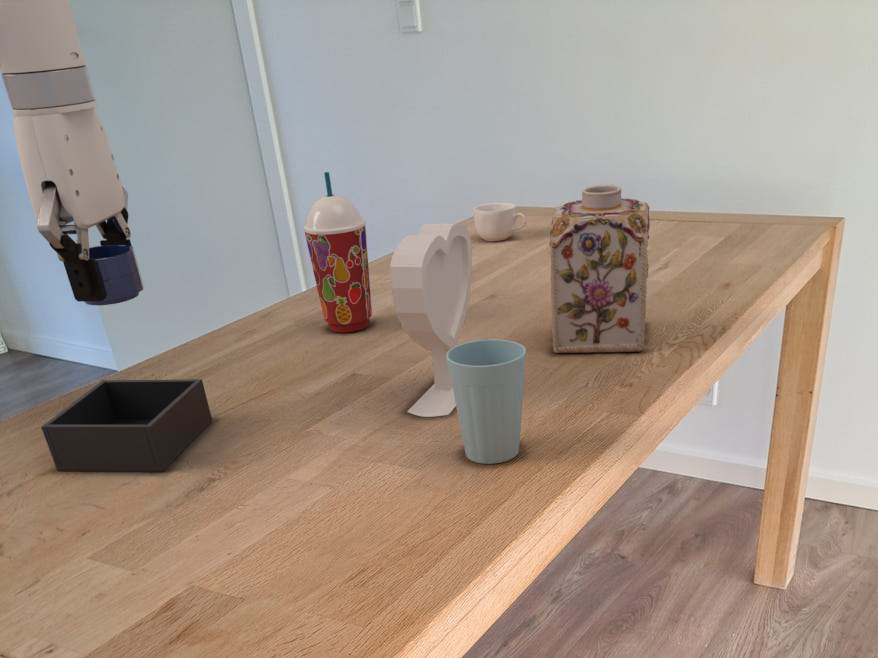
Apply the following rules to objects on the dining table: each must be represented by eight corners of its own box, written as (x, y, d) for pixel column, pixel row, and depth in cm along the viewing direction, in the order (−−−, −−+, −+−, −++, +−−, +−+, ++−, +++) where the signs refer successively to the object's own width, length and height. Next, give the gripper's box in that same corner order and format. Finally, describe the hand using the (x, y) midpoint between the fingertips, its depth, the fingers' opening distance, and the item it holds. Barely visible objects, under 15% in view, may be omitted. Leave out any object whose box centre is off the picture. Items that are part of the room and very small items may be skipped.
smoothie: (387, 318, 133) (368, 166, 122) (363, 337, 127) (341, 178, 115) (336, 316, 136) (313, 167, 124) (310, 334, 130) (282, 179, 118)
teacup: (467, 242, 168) (465, 210, 165) (486, 232, 173) (484, 201, 170) (517, 245, 164) (516, 212, 161) (534, 234, 169) (533, 203, 166)
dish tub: (57, 470, 97) (40, 426, 94) (115, 421, 108) (102, 380, 105) (163, 471, 95) (150, 426, 92) (212, 421, 106) (202, 379, 103)
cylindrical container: (66, 308, 94) (51, 262, 92) (97, 289, 100) (84, 245, 97) (127, 306, 93) (113, 260, 91) (155, 287, 99) (144, 243, 96)
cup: (536, 438, 96) (532, 338, 90) (522, 470, 90) (517, 366, 84) (465, 436, 97) (457, 338, 91) (447, 468, 92) (437, 365, 85)
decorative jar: (646, 323, 124) (651, 176, 113) (645, 353, 114) (651, 195, 104) (557, 325, 125) (554, 181, 115) (549, 354, 116) (546, 200, 106)
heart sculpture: (442, 421, 101) (425, 249, 90) (400, 418, 103) (379, 248, 92) (485, 371, 113) (475, 214, 102) (447, 369, 114) (433, 214, 104)
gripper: (62, 85, 93) (114, 268, 104) (-41, 107, 79) (32, 316, 90) (130, 80, 92) (176, 266, 102) (38, 102, 78) (102, 314, 89)
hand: (108, 288), depth 96 cm, fingers closed on cylindrical container, 6 cm apart
